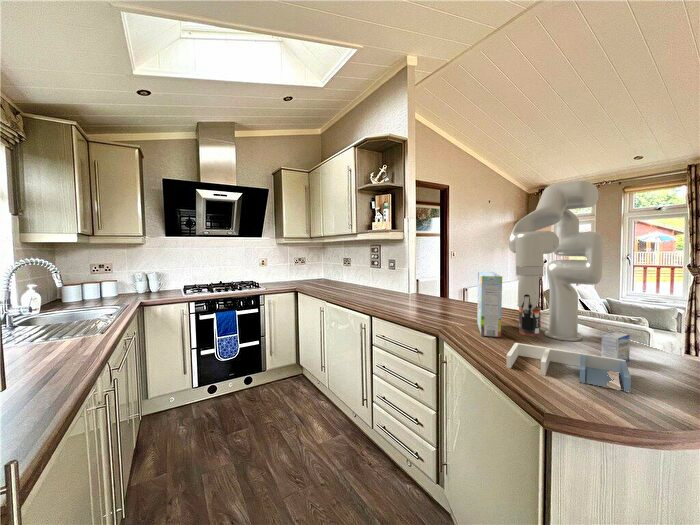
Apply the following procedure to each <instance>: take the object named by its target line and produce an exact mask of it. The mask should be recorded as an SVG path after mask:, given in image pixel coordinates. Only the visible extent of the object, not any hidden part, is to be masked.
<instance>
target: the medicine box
mask: <svg viewBox="0 0 700 525" xmlns="http://www.w3.org/2000/svg"><path fill="white" fill-rule="evenodd" d="M630 340H631V337H630V334H627V333H622V332H618V331H612V332H610V333H607V334H604V335H601V356H603V357H609V358H616V359H622V360H626V362H629V361H630V342H631V341H630ZM628 360H629V361H628Z"/></svg>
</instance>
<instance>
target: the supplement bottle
mask: <svg viewBox="0 0 700 525" xmlns="http://www.w3.org/2000/svg"><path fill="white" fill-rule="evenodd" d="M531 305H532V304H531ZM529 307H532V306H529ZM530 311H531V310H530ZM522 313H523V305H522V306H521V307H520V308H519V307H518V322H519V323H518V332H519V334H520V335H522V336H525V337H526V336H527V337H539V336H541V330H542V329H541V308H540V307H539V306H538V305H537V306H536V308H534V309H533V318H534V330H525V329H522ZM530 313H531V312H530Z"/></svg>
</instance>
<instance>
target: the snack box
mask: <svg viewBox="0 0 700 525" xmlns="http://www.w3.org/2000/svg"><path fill="white" fill-rule="evenodd" d="M502 294H503V276H502V275H500V273H499V274H498V273H497V272H495V271H478V272H477V308H476V309H477V310H476V311H477V317H476V318H477V321H476V322H477V323H476V324H477V326H478V330H479V334H480V336H482V337H485V336H486V337H492V338H501V336H502V305H503V304H502V303H503V302H502V300H503V299H502V298H503V295H502Z"/></svg>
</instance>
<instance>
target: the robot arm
mask: <svg viewBox="0 0 700 525" xmlns="http://www.w3.org/2000/svg"><path fill="white" fill-rule="evenodd" d="M599 195H600V194H599V190H598V188H597V187H596V185H595V184H593V183H591V182H590V181H587V180H574V181H566V182H560V183H554V184H551V185H549V186H546V187H545V189H544V190H543V191H542V194H541V195H540V198H539V201H538V204H537V206H536V208H535V210H533V211H530V213H529V214H527V215H525V216H524V217H522V218H520V220H518V221H517V222H516V223H515V225H514V226H513V228H512V231H511V233H510V235H509V239H508V248H509V250H510V252H512V253H514V254H515V276H516V277H518V283H517V284H518V285H517V303H516V304H517V307H518V309H519V308H520V307H521V306H522V305H523V313H522V329H525V330H534V318H533V309H534V308H536V306H538V305H539V302H540V301H539V299H540V278H541V277H544V255H548V254H552V253H554V255H556V256H559V257H584V258H586V259H554V260H552V261H550V262H549V263H548V264H547V267H546V272H547V273H546V274H547V279H548V287H549V289H548V290H549V291H548V292H549V307H548V309H549V311H548V312H549V313H548V314H549V315H548V316H549V318H548V319H549V320H548V321H549V322H548V323H549V327H548V329H547V330H545V331H544V335H545V336H546V337H548V338H551V339H553V340H554V339H555V340H559V341H565V342H566V341H567V342H568V341H569V342H576V341H577V342H579V341H581V340H583V334H580V333H579V329H578V328H579V327H578V326H579V318H578V317H579V293H578V291H577V290H576V288H574V287H573V284H574V285H590V286H591V285H592V286H594V285H597V284H599V283H601V280H602V275H603V259H604V257H603V254H604V252H603V251H604V244H603V243H604V242H603V238H602V236H601V234H600V233H599V232H596V231H585V232H583V231H580V219H579V217H577V216H576V214H575V213H574V212H572V210H577V209H587V208H593V207H595V205H596V204H597V203H598V200H599ZM550 226H551V227H552V226H553V229H552V230H553V231H552V230H542V229H546V228H549V227H550ZM539 230H540V231H539ZM531 304H532V305H531ZM529 306H532V307H529ZM530 310H531V311H530ZM530 312H531V313H530Z"/></svg>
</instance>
